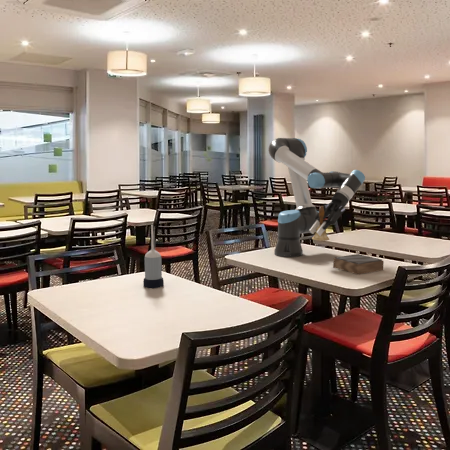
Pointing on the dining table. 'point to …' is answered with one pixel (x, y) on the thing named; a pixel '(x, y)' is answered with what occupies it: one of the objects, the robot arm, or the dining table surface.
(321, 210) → the hand bell
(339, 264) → the bell stand
